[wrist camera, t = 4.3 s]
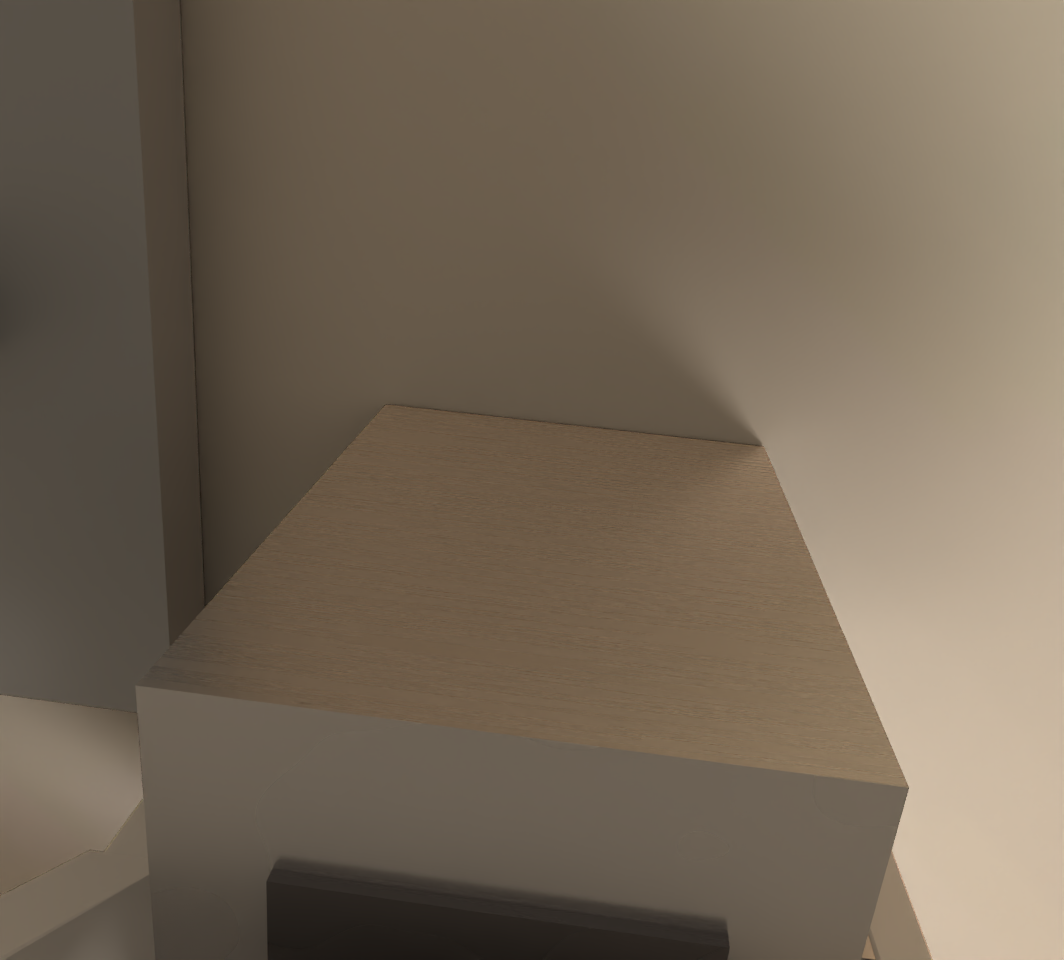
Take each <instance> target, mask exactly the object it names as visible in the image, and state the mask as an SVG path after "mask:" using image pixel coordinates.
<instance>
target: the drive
mask: <svg viewBox="0 0 1064 960" xmlns="http://www.w3.org/2000/svg"><path fill="white" fill-rule="evenodd" d="M135 687H136V701H137V715H138V729H139V742H140V756H141V770H142V783H143V797H144V811H145V825H146V838H147V852H148V866H149V879H150V893H151V907H152V921H153V934H154V948H155V960H861V958H862V955H863V951H864V948H865V944H866V940H867V937H868V933H869V930H870V926H871V922H872V919H873V915H874V912H875V908H876V904H877V901H878V897H879V894H880V890H881V886H882V883H883V879H884V876H885V872H886V868H887V865H888V861H889V858H890V854H891V850H892V847H893V843H894V840H895V836H896V833H897V829H898V825H899V822H900V818H901V815H902V811H903V807H904V804H905V800H906V797H907V793H908V789H909V786H908V784H907V782H906V779H905V777H904V775H903V772H902V770H901V768H900V765H899V763H898V761H897V758H896V756H895V754H894V751H893V749H892V746H891V744H890V742H889V739H888V737H887V735H886V732H885V730H884V728H883V725H882V723H881V721H880V718H879V716H878V713H877V711H876V709H875V706H874V704H873V702H872V699H871V697H870V695H869V692H868V690H867V688H866V685H865V683H864V681H863V678H862V676H861V673H860V671H859V669H858V666H857V664H856V662H855V659H854V657H853V655H852V652H851V650H850V648H849V645H848V643H847V641H846V638H845V636H844V633H843V631H842V629H841V626H840V624H839V622H838V619H837V617H836V615H835V612H834V610H833V608H832V605H831V603H830V601H829V598H828V596H827V593H826V591H825V589H824V586H823V584H822V582H821V579H820V577H819V575H818V572H817V570H816V568H815V565H814V563H813V560H812V558H811V556H810V553H809V551H808V549H807V546H806V544H805V542H804V539H803V537H802V535H801V532H800V530H799V528H798V525H797V523H796V520H795V518H794V516H793V513H792V511H791V509H790V506H789V504H788V502H787V499H786V497H785V495H784V492H783V490H782V488H781V485H780V483H779V480H778V478H777V476H776V473H775V471H774V469H773V466H772V464H771V462H770V459H769V457H768V455H767V452H766V450H765V448H764V447H763V446H754V445H745V444H736V443H727V442H719V441H710V440H701V439H692V438H683V437H674V436H665V435H656V434H647V433H638V432H629V431H620V430H611V429H602V428H593V427H584V426H575V425H566V424H557V423H548V422H539V421H530V420H521V419H512V418H503V417H495V416H486V415H477V414H468V413H459V412H450V411H441V410H432V409H423V408H414V407H405V406H396V405H387V404H386V405H385V406H384V407H383V408H382V409H381V410H380V411H379V412H378V414H377V415H376V416H375V417H374V418H373V419H372V420H371V421H370V423H369V424H368V425H367V426H366V427H365V428H364V429H363V430H362V432H361V433H360V434H359V435H358V436H357V437H356V438H355V439H354V441H353V442H352V443H351V444H350V445H349V446H348V447H347V448H346V450H345V451H344V452H343V453H342V454H341V455H340V456H339V457H338V459H337V460H336V461H335V462H334V463H333V464H332V465H331V466H330V467H329V469H328V470H327V471H326V472H325V473H324V474H323V475H322V476H321V478H320V479H319V480H318V481H317V482H316V483H315V484H314V485H313V487H312V488H311V489H310V490H309V491H308V492H307V493H306V494H305V496H304V497H303V498H302V499H301V500H300V501H299V502H298V503H297V505H296V506H295V507H294V508H293V509H292V510H291V511H290V512H289V514H288V515H287V516H286V517H285V518H284V519H283V520H282V521H281V523H280V524H279V525H278V526H277V527H276V528H275V529H274V530H273V531H272V533H271V534H270V535H269V536H268V537H267V538H266V539H265V540H264V542H263V543H262V544H261V545H260V546H259V547H258V548H257V549H256V551H255V552H254V553H253V554H252V555H251V556H250V557H249V558H248V560H247V561H246V562H245V563H244V564H243V565H242V566H241V567H240V569H239V570H238V571H237V572H236V573H235V574H234V575H233V576H232V578H231V579H230V580H229V581H228V582H227V583H226V584H225V585H224V587H223V588H222V589H221V590H220V591H219V592H218V593H217V594H216V596H215V597H214V598H213V599H212V600H211V601H210V602H209V603H208V604H207V606H206V607H205V608H204V609H203V610H202V611H201V612H200V613H199V615H198V616H197V617H196V618H195V619H194V620H193V621H192V622H191V624H190V625H189V626H188V627H187V628H186V629H185V630H184V631H183V633H182V634H181V635H180V636H179V637H178V638H177V639H176V640H175V642H174V643H173V644H172V645H171V646H170V647H169V648H168V649H167V651H166V652H165V653H164V654H163V655H162V656H161V657H160V658H159V660H158V661H157V662H156V663H155V664H154V665H153V666H152V667H151V668H150V670H149V671H148V672H147V673H146V674H145V675H144V676H143V677H142V679H141V680H140V681H139V682H138V683H137V684H136V685H135Z"/></svg>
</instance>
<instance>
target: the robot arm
mask: <svg viewBox="0 0 1064 960" xmlns="http://www.w3.org/2000/svg"><path fill="white" fill-rule="evenodd" d="M0 960H155V948H154V934H153V921H152V907H151V893H150V879H149V866H148V852H147V838H146V825H145V811H144V797H143V799H142V800H141V802H140V803H139V804H138V806H137V807H136V808H135V810H134V811H133V812H132V814H131V815H130V817H129V818H128V819H127V821H126V822H125V823H124V825H123V826H122V827H121V829H120V830H119V832H118V833H117V834H116V836H115V837H114V838H113V840H112V841H111V842H110V844H109V845H108V846H107V848H106V849H105V851H104V852H101V851H94V850H89V851H87V852H85V853H83V854H81V855H79V856H77V857H75V858H73V859H71V860H69V861H67V862H65V863H63V864H62V865H60V866H58V867H56V868H54V869H52V870H50V871H48V872H46V873H44V874H42V875H40V876H38V877H36V878H34V879H32V880H30V881H28V882H26V883H24V884H22V885H20V886H18V887H16V888H15V889H13V890H11V891H9V892H7V893H5V894H3V895H1V896H0ZM861 960H933V959H932V956H931V954H930V951H929V948H928V946H927V943H926V940H925V938H924V935H923V932H922V930H921V927H920V924H919V922H918V919H917V916H916V914H915V911H914V908H913V906H912V903H911V900H910V898H909V895H908V892H907V890H906V887H905V884H904V882H903V879H902V876H901V874H900V871H899V868H898V866H897V863H896V860H895V858H894V855H893V852H892V850H891V854H890V858H889V861H888V865H887V868H886V872H885V876H884V879H883V883H882V886H881V890H880V894H879V897H878V901H877V904H876V908H875V912H874V915H873V919H872V922H871V926H870V930H869V933H868V937H867V940H866V944H865V948H864V951H863V955H862V958H861Z"/></svg>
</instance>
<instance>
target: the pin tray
mask: <svg viewBox="0 0 1064 960" xmlns="http://www.w3.org/2000/svg"><path fill="white" fill-rule="evenodd" d="M204 608H205V602H204V577H203V553H202V529H201V504H200V480H199V456H198V431H197V407H196V383H195V358H194V334H193V310H192V285H191V261H190V237H189V212H188V188H187V164H186V139H185V115H184V91H183V67H182V42H181V18H180V0H0V695H7V696H15V697H22V698H30V699H37V700H45V701H52V702H60V703H67V704H75V705H82V706H89V707H97V708H104V709H112V710H119V711H127V712H134V713H137V701H136V687H135V685H136V684H137V683H138V682H139V681H140V680H141V679H142V677H143V676H144V675H145V674H146V673H147V672H148V671H149V670H150V668H151V667H152V666H153V665H154V664H155V663H156V662H157V661H158V660H159V658H160V657H161V656H162V655H163V654H164V653H165V652H166V651H167V649H168V648H169V647H170V646H171V645H172V644H173V643H174V642H175V640H176V639H177V638H178V637H179V636H180V635H181V634H182V633H183V631H184V630H185V629H186V628H187V627H188V626H189V625H190V624H191V622H192V621H193V620H194V619H195V618H196V617H197V616H198V615H199V613H200V612H201V611H202V610H203V609H204Z"/></svg>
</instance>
